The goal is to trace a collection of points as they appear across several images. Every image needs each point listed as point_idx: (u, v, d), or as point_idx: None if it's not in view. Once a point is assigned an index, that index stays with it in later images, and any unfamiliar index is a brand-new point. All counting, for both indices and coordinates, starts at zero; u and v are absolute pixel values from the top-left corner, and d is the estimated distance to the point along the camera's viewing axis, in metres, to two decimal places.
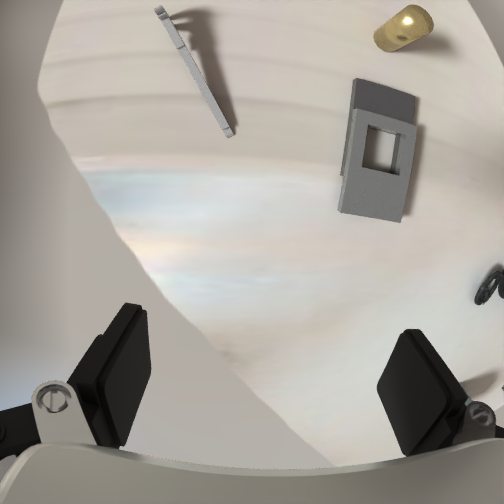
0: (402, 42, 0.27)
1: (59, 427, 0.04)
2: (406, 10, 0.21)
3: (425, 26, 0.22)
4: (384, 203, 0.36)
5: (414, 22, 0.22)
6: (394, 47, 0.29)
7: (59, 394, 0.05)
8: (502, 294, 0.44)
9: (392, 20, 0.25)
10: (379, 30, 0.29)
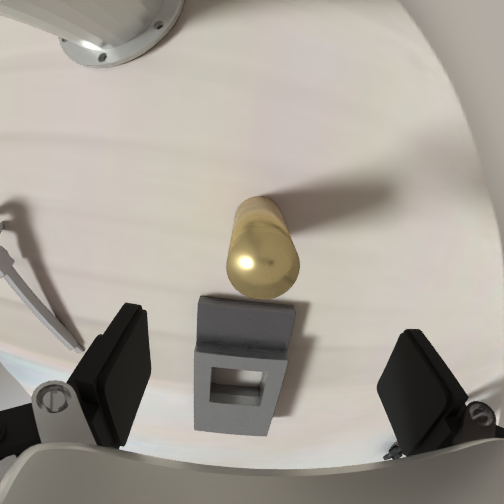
0: None
1: (59, 427, 0.04)
2: (231, 257, 0.16)
3: (275, 281, 0.17)
4: (243, 425, 0.32)
5: (248, 281, 0.17)
6: None
7: (59, 394, 0.05)
8: None
9: None
10: None
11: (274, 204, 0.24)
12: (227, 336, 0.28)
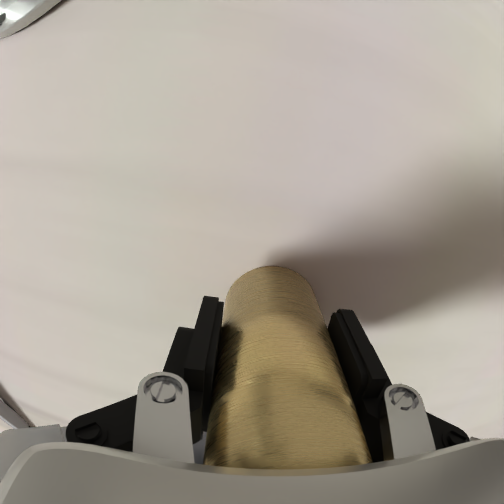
0: None
1: (159, 417, 0.05)
2: None
3: None
4: None
5: None
6: None
7: (170, 386, 0.07)
8: None
9: (209, 418, 0.07)
10: None
11: (305, 285, 0.12)
12: None
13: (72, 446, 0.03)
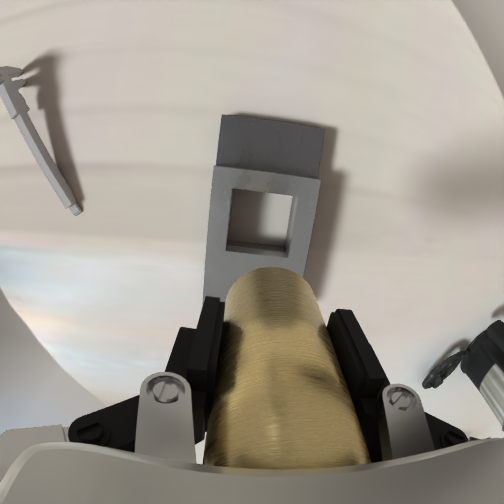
0: None
1: (161, 417, 0.05)
2: None
3: None
4: None
5: None
6: None
7: (173, 387, 0.07)
8: (465, 372, 0.36)
9: (208, 419, 0.07)
10: None
11: (305, 286, 0.12)
12: (251, 155, 0.25)
13: (72, 446, 0.03)
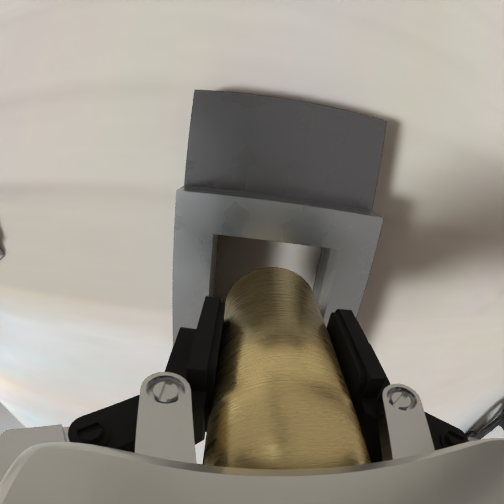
0: None
1: (161, 417, 0.05)
2: None
3: None
4: None
5: None
6: None
7: (173, 387, 0.07)
8: (502, 427, 0.24)
9: (208, 420, 0.07)
10: None
11: (305, 286, 0.12)
12: (251, 166, 0.13)
13: (72, 446, 0.03)
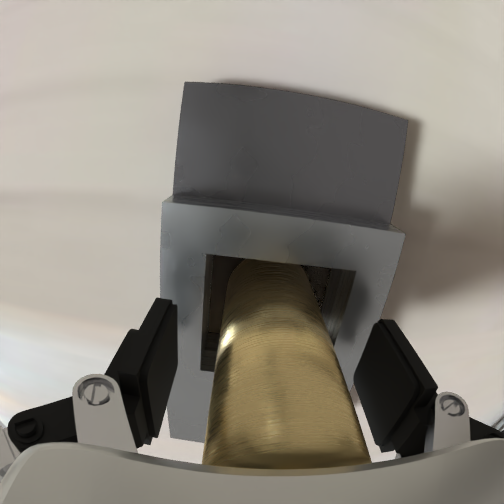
0: None
1: (97, 420, 0.05)
2: None
3: None
4: None
5: None
6: None
7: (102, 388, 0.06)
8: None
9: (213, 380, 0.08)
10: (224, 307, 0.12)
11: (299, 269, 0.13)
12: (252, 172, 0.11)
13: (72, 446, 0.03)
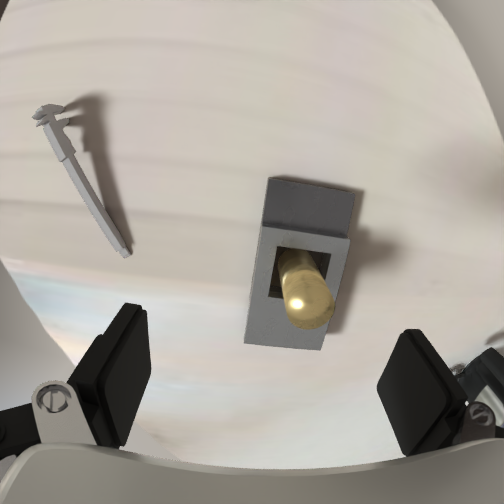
0: None
1: (59, 427, 0.04)
2: (290, 302, 0.24)
3: (318, 317, 0.24)
4: (298, 332, 0.33)
5: (300, 318, 0.24)
6: None
7: (59, 394, 0.05)
8: None
9: (283, 286, 0.27)
10: (279, 268, 0.31)
11: (309, 254, 0.32)
12: (293, 215, 0.30)
13: (72, 446, 0.03)
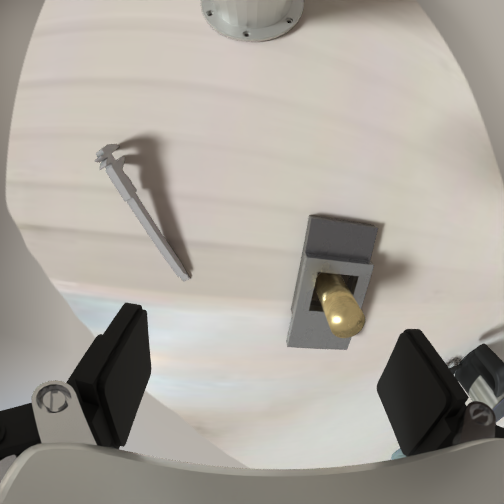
0: None
1: (59, 427, 0.04)
2: (333, 319, 0.31)
3: (352, 329, 0.32)
4: (330, 336, 0.40)
5: (340, 330, 0.32)
6: None
7: (59, 394, 0.05)
8: (458, 380, 0.48)
9: (324, 305, 0.34)
10: (317, 288, 0.38)
11: (340, 275, 0.39)
12: (329, 246, 0.37)
13: (72, 446, 0.03)
